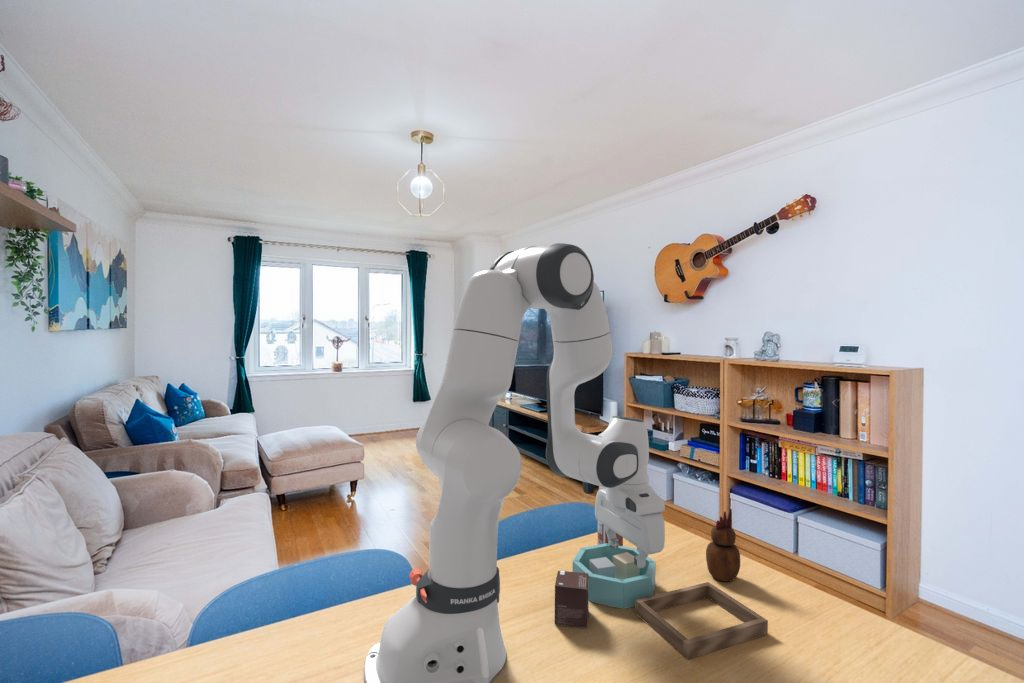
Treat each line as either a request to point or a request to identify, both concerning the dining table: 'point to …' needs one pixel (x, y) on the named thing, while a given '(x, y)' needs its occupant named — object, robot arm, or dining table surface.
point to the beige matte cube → (625, 566)
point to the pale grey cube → (602, 567)
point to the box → (571, 599)
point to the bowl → (612, 588)
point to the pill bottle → (603, 536)
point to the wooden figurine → (723, 550)
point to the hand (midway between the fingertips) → (625, 556)
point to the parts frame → (708, 642)
